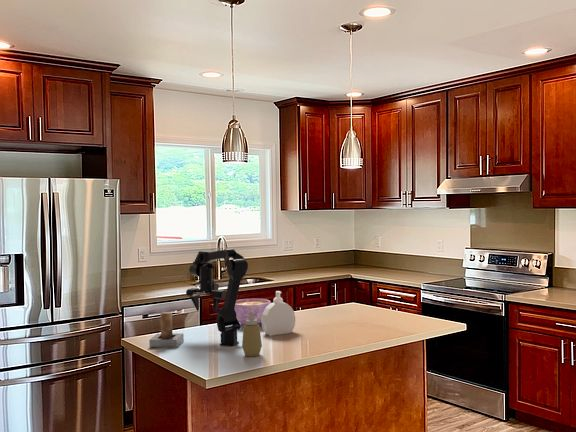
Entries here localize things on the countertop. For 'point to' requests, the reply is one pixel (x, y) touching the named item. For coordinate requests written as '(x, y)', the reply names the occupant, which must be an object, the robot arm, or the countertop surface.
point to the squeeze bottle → (251, 337)
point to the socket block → (166, 341)
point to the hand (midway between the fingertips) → (206, 311)
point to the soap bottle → (278, 317)
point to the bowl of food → (250, 309)
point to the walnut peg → (166, 324)
